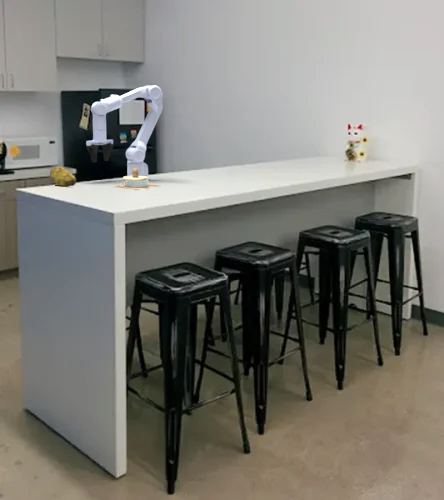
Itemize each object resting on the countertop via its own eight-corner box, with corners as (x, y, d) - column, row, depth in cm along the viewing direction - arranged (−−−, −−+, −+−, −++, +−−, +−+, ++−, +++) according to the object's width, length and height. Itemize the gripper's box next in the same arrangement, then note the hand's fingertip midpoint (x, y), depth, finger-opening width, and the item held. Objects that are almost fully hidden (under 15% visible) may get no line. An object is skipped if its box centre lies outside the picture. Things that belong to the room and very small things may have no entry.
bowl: (135, 183, 274) (135, 177, 274) (152, 186, 269) (152, 179, 268) (120, 186, 266) (120, 179, 266) (137, 188, 261) (137, 181, 261)
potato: (59, 188, 263) (58, 169, 261) (47, 184, 273) (47, 166, 271) (78, 187, 268) (77, 168, 266) (65, 183, 277) (65, 165, 276)
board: (136, 185, 278) (136, 182, 278) (161, 188, 271) (161, 185, 271) (111, 188, 265) (111, 186, 265) (136, 192, 258) (136, 189, 258)
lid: (130, 176, 274) (129, 166, 273) (151, 178, 271) (151, 168, 269) (118, 179, 264) (118, 169, 263) (141, 181, 261) (141, 170, 260)
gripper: (104, 129, 282) (105, 159, 285) (80, 130, 270) (81, 161, 273) (116, 129, 278) (116, 160, 281) (92, 130, 266) (93, 163, 269)
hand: (100, 161), depth 277 cm, fingers open, 7 cm apart
